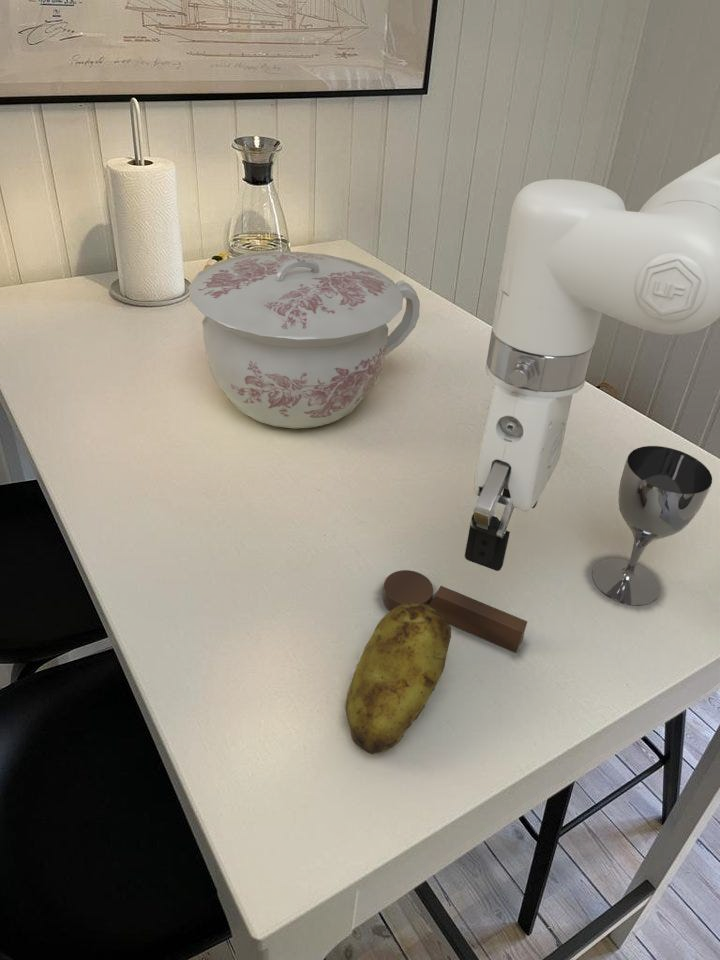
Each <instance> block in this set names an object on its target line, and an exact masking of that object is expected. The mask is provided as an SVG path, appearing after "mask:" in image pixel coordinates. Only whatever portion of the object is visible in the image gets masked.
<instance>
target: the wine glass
mask: <svg viewBox="0 0 720 960" xmlns="http://www.w3.org/2000/svg"><path fill="white" fill-rule="evenodd" d="M712 484H713V476H712V473H711V472H710V470H709V468H707V466H706V465H705V464H704V463H703V462H701V460H698V459H697V458H696V457H694V456H692V455H691V454H688V453H686V452H685V451H681V450H678V449H675V448H670V447H668V446H661V445H646V446H645V445H644V446H639V447H637V448H635V449H633V450H631V452H629V454H628V455H627V458H626V461H625V464H624V467H623V470H622V473H621V477H620V481H619V485H618V486H619V487H618V499H617V500H618V510H619V512H620V515H621V517H622V519H623V520H624V522H625V524H626V525H627V527H628V528H629V529H630V531H631V534H632V538H633V544H632V550H631V553H630V557H629V559H628V560H627V559H622V558H608V559H604V560H600V561H599V562H597V563H596V565H595V564H594V567H593V568H592V572H591V577H592V580H593V582H594V585H595V586H596V587H597V589H598V590H599V591H600V592H601V593H602V594H604V595H605V596H606V597H608V598H610V599H611V600H613V601H615V602H618V603H620V604H624V605H628V606H646V605H649V604H652V603H654V602H655V601H656V600H657V599H658V598H659V595H660V592H661V591H660V585H659V582H658V580H657V578H656V577H655V576H654V575H653V573H652V572H650V571H649V570H648V569H647V568H645V567H643V566H641V565H640V564H638V561H639V559H640V558H641V556H642V554H643V553H644V551H645V549H646V548H647V546H649V544H651V543H652V542H655V541H656V540H660V539H664V538H668V537H671V536H674V535H676V534H678V533H680V532H681V531H683V530H684V529H685V528H686V527H687V526H688V525H689V524H690V523H691V522H692V520H693V519H694V518H695V516H697V514H698V512H699V511H700V509H701V508H702V505H703V504H704V502H705V500H706V498H707V496H708V494H709V492H710V489H711V487H712Z"/></svg>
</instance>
